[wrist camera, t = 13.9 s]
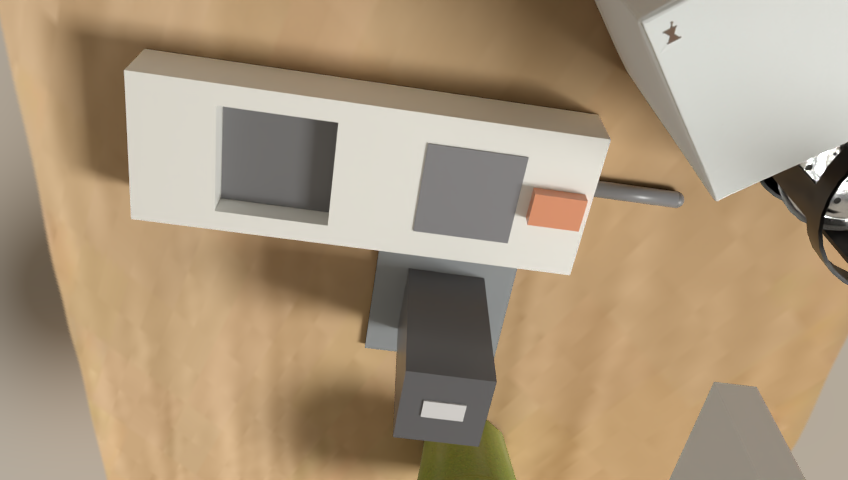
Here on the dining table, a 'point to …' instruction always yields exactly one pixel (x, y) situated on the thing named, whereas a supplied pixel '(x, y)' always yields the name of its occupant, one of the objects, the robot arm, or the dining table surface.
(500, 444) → the plant pot
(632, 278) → the dining table surface
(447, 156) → the power strip
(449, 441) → the block
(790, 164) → the supplement box
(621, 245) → the dining table surface
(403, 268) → the pad
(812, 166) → the french press
